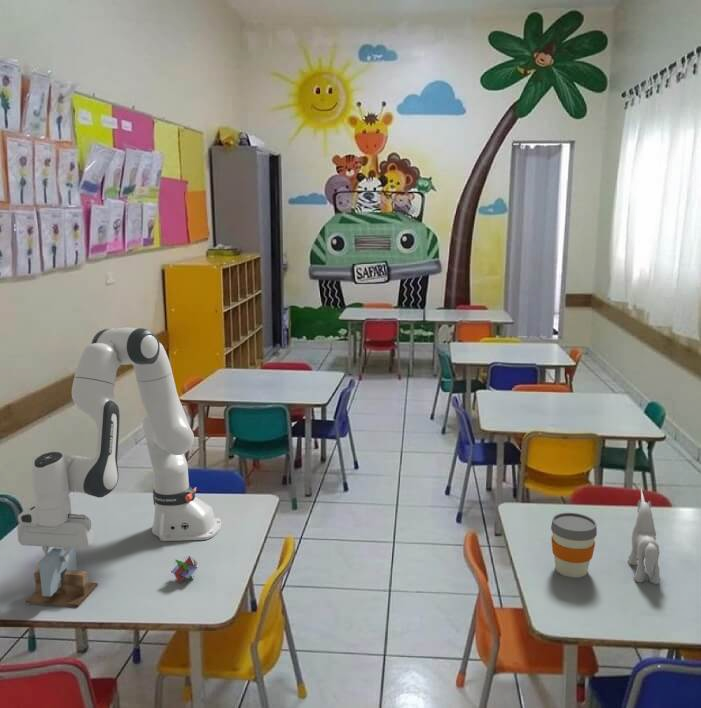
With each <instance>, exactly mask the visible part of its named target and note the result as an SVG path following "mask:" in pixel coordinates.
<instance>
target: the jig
mask: <svg viewBox="0 0 701 708" xmlns="http://www.w3.org/2000/svg"><path fill="white" fill-rule="evenodd" d="M87 573H88V572H87V570H77V571H74V570H68V571H67V572H66V573H65V574H64V579H61V587H60V588H59V589H58V590H57V591H56V592H55V593H54V594H53V595H52V596H51V597H50V596H42V588H41V579H40V569H39V567H38V568H37V569H36V570H35V571H34V572H33V575H34V585H35V591H34V592H33V593H32V594H31V595H30V596H29V597H28V598H27V599H26V600H25V604H26V603H29V604H28V605H37V606H38V605H41V606H56V607H70V608H79V607H80V606H81V605H82V604H83V602H84V601H85V600H87V598H88V597H89V596H90V595H91V594H92V593H93V592H94V590H95V589H96V588H97V587H98V585H99V584H98V582H92V581H88V574H87Z"/></svg>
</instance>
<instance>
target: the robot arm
mask: <svg viewBox="0 0 701 708" xmlns="http://www.w3.org/2000/svg"><path fill="white" fill-rule="evenodd" d="M127 365H128V366H129V365H132V366H133V369H134V374H135V379H136V383H137V387H138V388H137V389H138V391H139V394H140V398H141V399H140V400H141V403H142V405H143V407H144V409H145V411H146V413H147V414H146V416H145V417H143V421H142V428H143V432H144V435H145V438H146V445H147V450H148V455H149V457H150V461H151V466H152V467H151V469H152V478H153V489H152V500H153V505H154V517H153V524H152V528H151V532H152V534H153V535H154V536H156V537H158V538H159V541H161V542H176V541H177V542H178V541H179V542H181V541H182V542H183V541H200V540H201V541H203V540H205V541H206V540H210V539H212V538H213V537H214V536H216V535H217V534H218V533H219V531H220V530H221V528H222V525H223V524H222V523H223V522H222V520H221V518H219V517H215V513H214V510H213V508H212V506H211V505H210V504H207V503H206V502H204V501H203V500H201V499H200V498H198V497H197V496H196V491H197V486H196V487H194V488H192V487H191V486H190V482H189V468H188V462H187V461H188V460H187V459H186V455H185V454H186V453H188V452H189V451H190V450H191V449H192V447H193V445H194V442H195V435H194V432H193V430H192V428H191V425H190V423H189V421H188V418H187V415H186V411H185V410H184V407H183V405H182V402H181V400H180V397H179V395H178V391H177V386H176V382H175V379H174V374H173V369H172V365H171V361H170V360H169V357H168V354H167V352H166V350H165V347H164V346H163V344H162V343H161V342H160V341H159V338H158V336H157V335H156V334H155V332H153V331H151V330H149V329H147V328H142V327H140V328H136V327H130V326H129V327H127V326H126V327H119V328H105V329H102V330H100V331H98V332H97V333H96V334H95V335H94V336H93V338H92V340H91V344H88V345H86V347H85V348H84V349H83V351H82V353H81V356H80V358H79V361H78V363H77V367H76V369H75V374H74V378H73V382H72V386H71V398H72V400H73V401H72V402H73V403H74V404H75V406H76V407H77V408H78V409H79V410H81V412H83V413H85V414H86V415H88V416H89V417H90V418H92V420H93V421H94V422H95V423H96V426H97V443H96V454H95V458H92V457H86V456H85V457H84V456H79V455H75V454H68V455H66V454H63V453H61V452H58V451H49V452H45V453H43V454H41V455H39V456H38V457H36V458H35V459H34V461H33V464H32V468H31V481H32V482H31V484H32V485H31V486H32V492H33V494H34V496H35V499H34V500H35V501H34V504H33V505H31V506H29V507H28V508H26V509H24V510H23V511H22V512H21V513H19V514H18V515H17V520H18V522H19V523H18V525H17V540H18V543H19V544H20V545H22V546H27V547H29V546H32V547H41V549H42V552H43V553H44V554H45V555H46V554H48V553H49V552H50V551H51V550H52V548H54V547H60V548H63V551H65V553H63V554H62V555H61V556H60V558H61V561H62V562H67V561H68V560H69V552H70V550H71V549H72V548H75V549H79V550H80V549H81V550H88V548H90V547H91V546H92V544H93V543H94V541H95V536H94V532H93V527H92V519H91V518H90V517H89V516H87V515H85V514H83V513H82V514H76V513H72V506H71V505H72V504H71V497H70V493H72V492H75V493H80V494H86V495H89V496H91V497H95V498H104V497H105V496H107V495H108V494H110V493H111V492H112V491H114V490H115V488H116V486H117V484H118V482H119V466H118V465H119V464H118V453H119V451H118V450H119V436H120V416H121V415H120V408H119V405H118V404H117V403H116V401H115V395H114V394H115V393H114V392H115V391H114V390H115V384H116V380H117V373H118V369H119V367H120V366H127Z"/></svg>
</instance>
